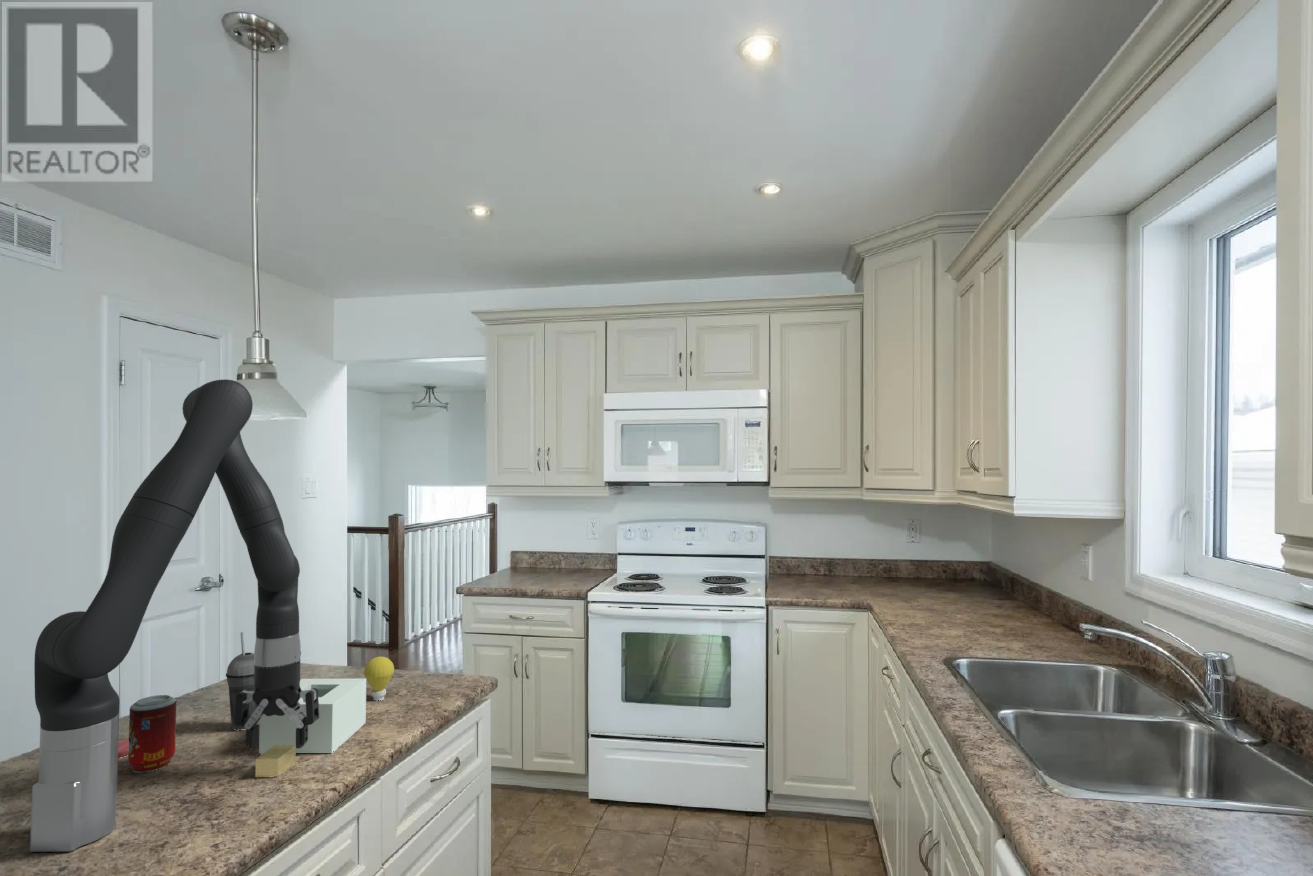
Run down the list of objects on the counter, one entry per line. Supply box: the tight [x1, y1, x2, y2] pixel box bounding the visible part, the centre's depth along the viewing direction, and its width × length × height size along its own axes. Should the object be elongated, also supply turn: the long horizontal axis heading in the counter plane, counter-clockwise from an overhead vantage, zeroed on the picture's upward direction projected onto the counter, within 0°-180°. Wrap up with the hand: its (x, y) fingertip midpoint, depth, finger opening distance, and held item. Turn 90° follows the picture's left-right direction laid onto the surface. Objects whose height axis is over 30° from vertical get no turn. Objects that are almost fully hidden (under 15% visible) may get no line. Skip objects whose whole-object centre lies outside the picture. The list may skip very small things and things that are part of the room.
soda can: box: [127, 694, 177, 774], centre depth 127 cm, size 7×7×12 cm
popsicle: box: [118, 736, 129, 759], centre depth 138 cm, size 5×2×15 cm
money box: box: [258, 677, 367, 754], centre depth 141 cm, size 16×14×10 cm
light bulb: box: [363, 656, 395, 702], centre depth 164 cm, size 7×7×10 cm
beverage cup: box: [225, 631, 258, 730], centre depth 147 cm, size 7×7×20 cm
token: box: [255, 745, 297, 777], centre depth 126 cm, size 6×4×4 cm, turn 0°
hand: (277, 747), depth 126 cm, fingers open, 8 cm apart
